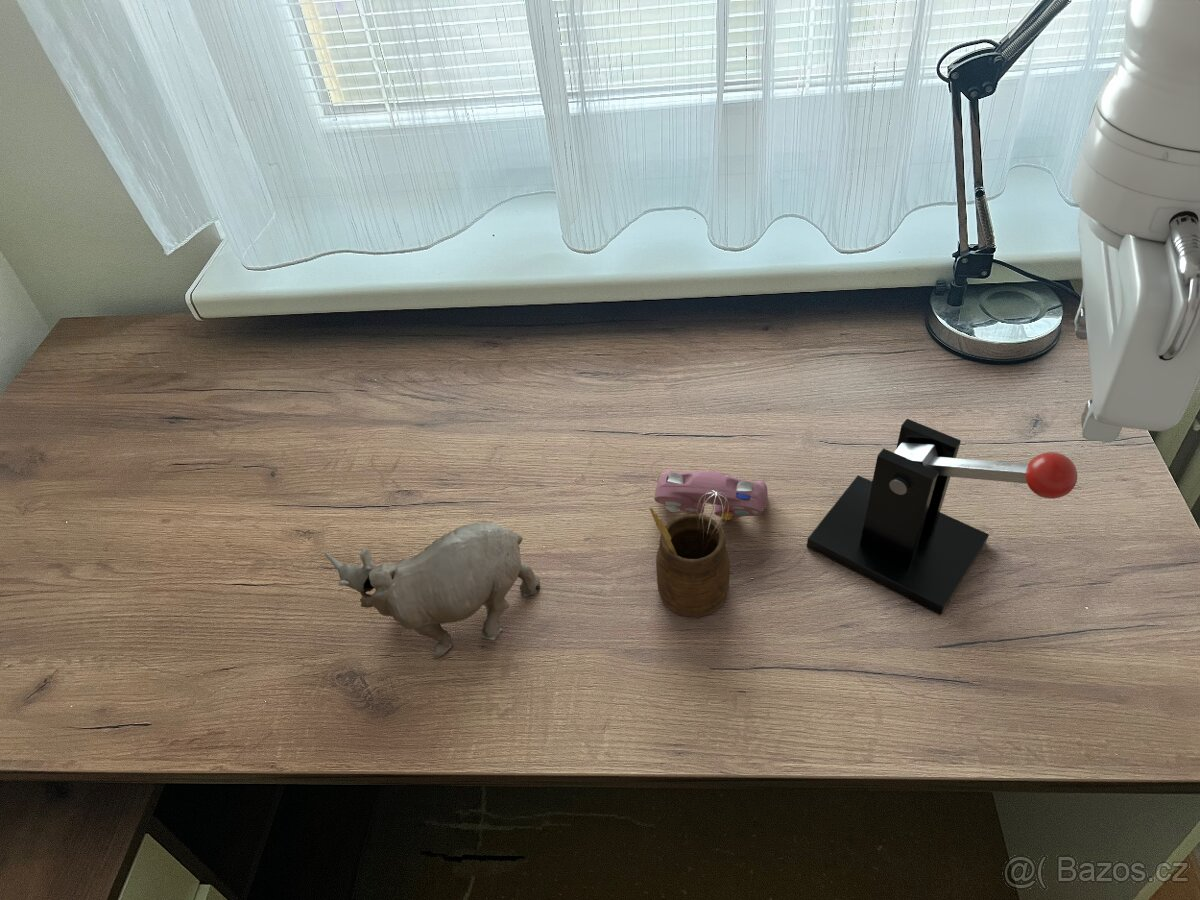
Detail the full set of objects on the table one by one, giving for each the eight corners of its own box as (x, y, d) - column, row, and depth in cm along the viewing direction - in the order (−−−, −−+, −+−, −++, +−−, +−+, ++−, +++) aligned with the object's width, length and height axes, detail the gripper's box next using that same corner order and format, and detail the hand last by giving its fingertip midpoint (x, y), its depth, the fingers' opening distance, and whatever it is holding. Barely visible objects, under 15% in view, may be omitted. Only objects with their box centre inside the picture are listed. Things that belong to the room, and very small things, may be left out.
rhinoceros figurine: (575, 626, 68) (430, 532, 61) (455, 705, 73) (306, 627, 66) (568, 554, 75) (435, 460, 67) (457, 631, 79) (322, 552, 72)
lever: (1087, 481, 60) (1080, 444, 59) (1071, 510, 59) (1063, 472, 57) (912, 466, 70) (902, 434, 69) (894, 491, 69) (883, 458, 67)
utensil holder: (743, 598, 72) (749, 502, 64) (679, 634, 70) (676, 539, 62) (702, 551, 76) (703, 454, 67) (641, 583, 74) (633, 488, 66)
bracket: (986, 543, 74) (1021, 444, 66) (940, 615, 69) (972, 519, 61) (856, 483, 80) (873, 386, 72) (806, 547, 75) (819, 450, 67)
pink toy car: (656, 520, 81) (646, 501, 74) (663, 473, 82) (655, 450, 76) (764, 534, 79) (764, 515, 72) (770, 486, 80) (770, 463, 73)
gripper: (1293, 294, 36) (1169, 516, 45) (1219, 86, 49) (1136, 291, 59) (1121, 278, 38) (1037, 494, 47) (1095, 81, 51) (1034, 281, 61)
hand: (1092, 380), depth 53 cm, fingers open, 8 cm apart
